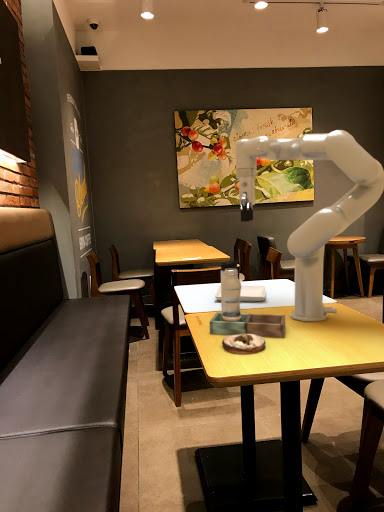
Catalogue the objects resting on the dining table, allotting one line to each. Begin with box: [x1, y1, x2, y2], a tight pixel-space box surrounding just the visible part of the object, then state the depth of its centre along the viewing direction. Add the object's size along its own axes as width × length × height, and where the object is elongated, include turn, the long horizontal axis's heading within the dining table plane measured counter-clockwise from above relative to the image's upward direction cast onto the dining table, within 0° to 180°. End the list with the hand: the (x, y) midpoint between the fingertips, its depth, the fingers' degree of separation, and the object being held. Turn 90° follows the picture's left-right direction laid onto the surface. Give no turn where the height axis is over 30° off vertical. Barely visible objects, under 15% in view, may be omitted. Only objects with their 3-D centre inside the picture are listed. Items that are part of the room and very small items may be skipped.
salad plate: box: [214, 285, 267, 303], centre depth 174 cm, size 21×21×3 cm
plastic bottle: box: [220, 268, 242, 322], centre depth 129 cm, size 6×7×20 cm
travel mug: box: [220, 260, 239, 313], centre depth 147 cm, size 6×7×20 cm
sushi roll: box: [221, 334, 266, 355], centre depth 114 cm, size 15×15×4 cm
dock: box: [209, 312, 286, 339], centre depth 128 cm, size 23×11×4 cm, turn 75°
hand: (247, 220), depth 148 cm, fingers open, 9 cm apart
